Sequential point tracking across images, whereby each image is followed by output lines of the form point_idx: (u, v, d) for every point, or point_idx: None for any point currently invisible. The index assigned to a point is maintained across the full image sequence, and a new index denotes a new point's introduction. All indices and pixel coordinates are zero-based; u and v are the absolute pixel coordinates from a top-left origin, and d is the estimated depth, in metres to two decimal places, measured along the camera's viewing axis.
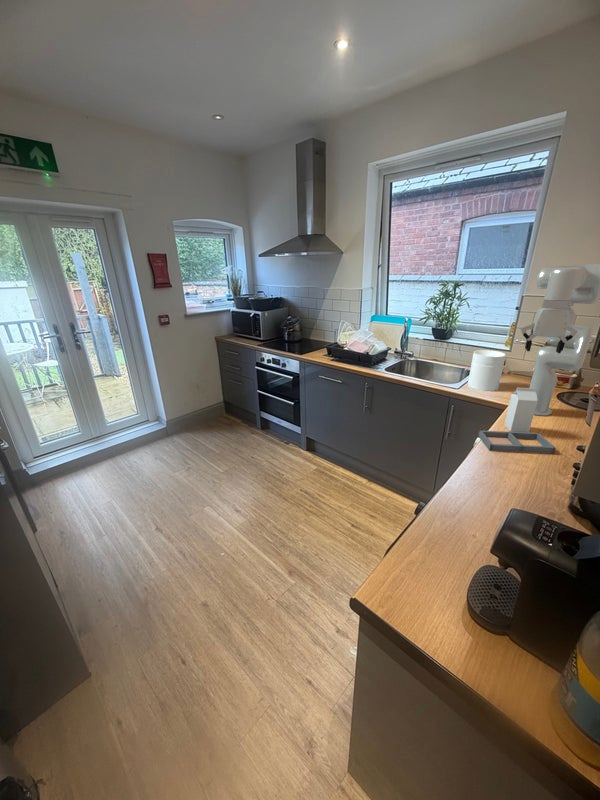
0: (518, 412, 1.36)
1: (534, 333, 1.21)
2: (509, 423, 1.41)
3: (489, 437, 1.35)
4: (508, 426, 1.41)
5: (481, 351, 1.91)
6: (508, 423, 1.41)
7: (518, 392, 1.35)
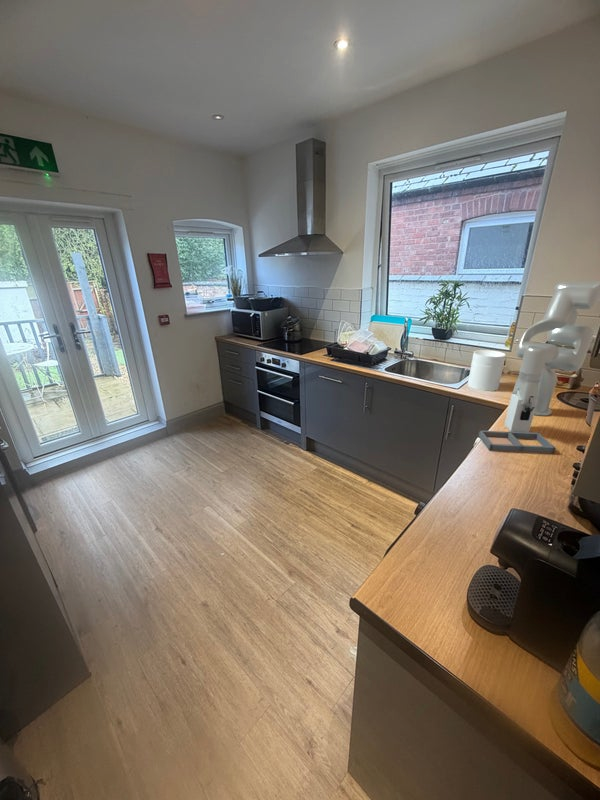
0: (518, 412, 1.36)
1: None
2: (509, 423, 1.41)
3: (489, 437, 1.35)
4: (508, 426, 1.41)
5: (481, 351, 1.91)
6: (508, 423, 1.41)
7: (518, 392, 1.35)
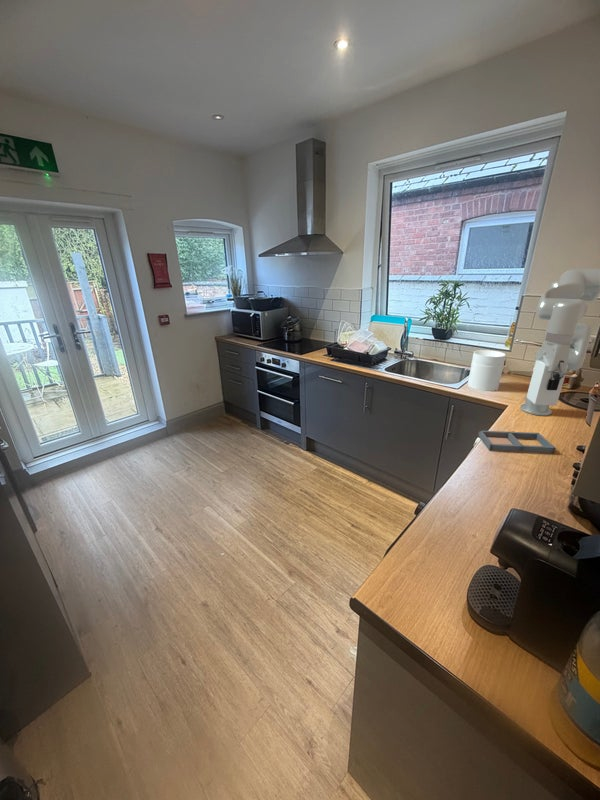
0: (545, 380, 1.16)
1: None
2: (533, 394, 1.21)
3: (489, 437, 1.35)
4: (532, 398, 1.22)
5: (481, 351, 1.91)
6: (532, 395, 1.22)
7: (545, 357, 1.16)
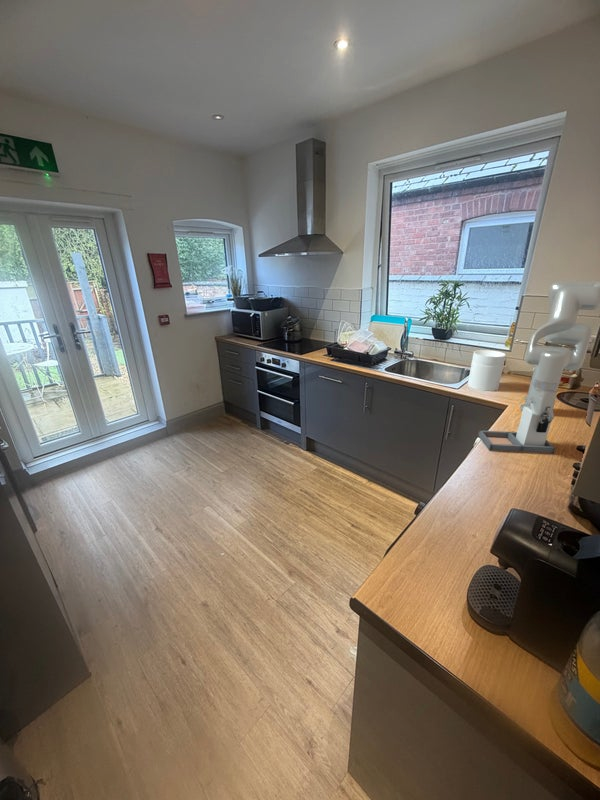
0: (532, 426, 1.23)
1: None
2: (521, 438, 1.28)
3: (489, 437, 1.35)
4: (520, 442, 1.29)
5: (481, 351, 1.91)
6: (520, 439, 1.29)
7: (532, 405, 1.23)
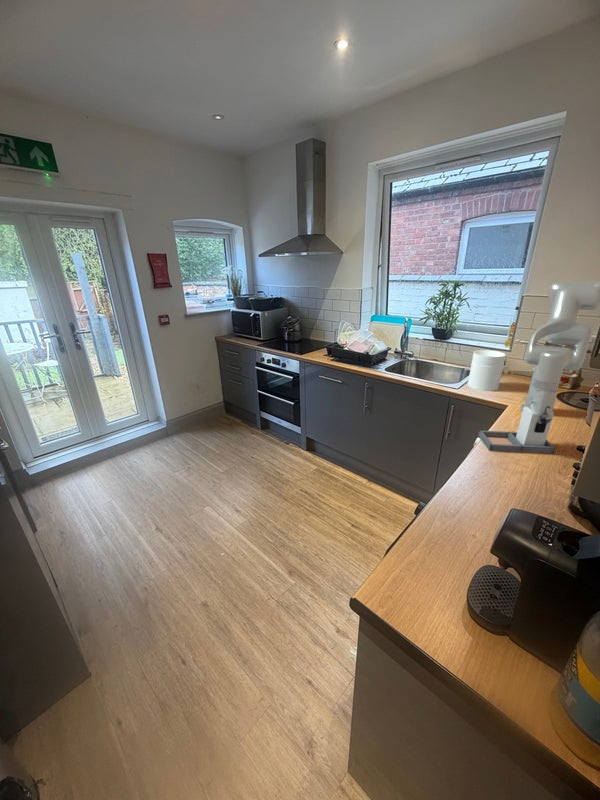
0: (532, 427, 1.23)
1: None
2: (521, 438, 1.28)
3: (489, 437, 1.35)
4: (520, 442, 1.29)
5: (481, 351, 1.91)
6: (520, 439, 1.29)
7: (532, 405, 1.23)
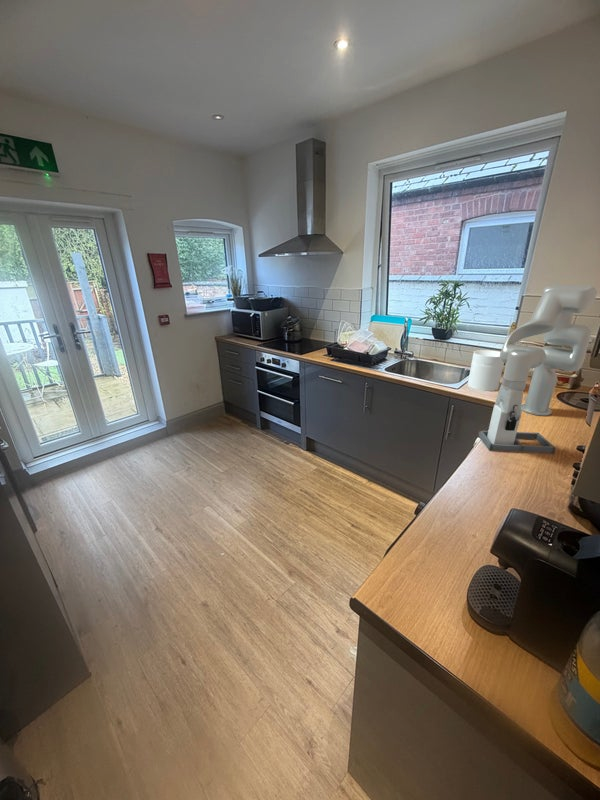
0: (501, 425, 1.24)
1: None
2: (492, 436, 1.30)
3: None
4: (491, 440, 1.30)
5: (481, 351, 1.91)
6: (491, 437, 1.30)
7: (501, 403, 1.24)
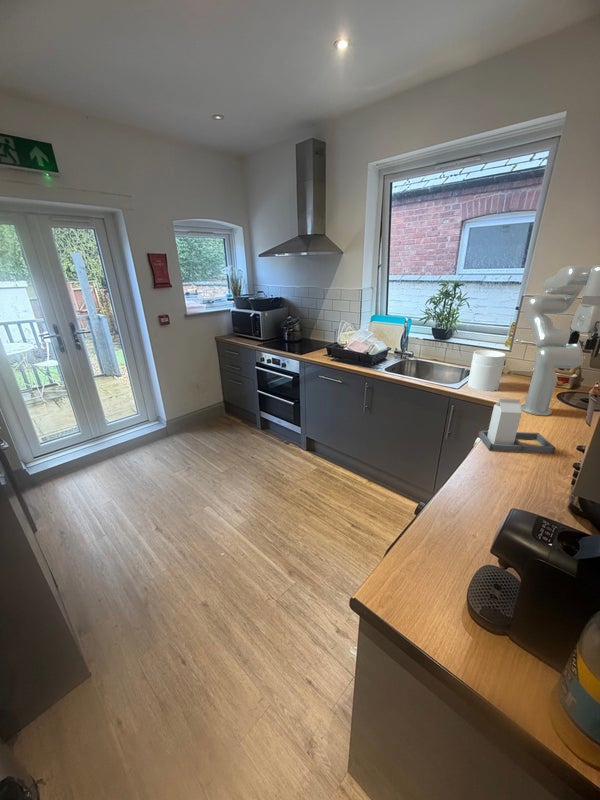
0: (501, 425, 1.24)
1: None
2: (492, 436, 1.30)
3: None
4: (491, 440, 1.30)
5: (481, 351, 1.91)
6: (491, 437, 1.30)
7: (501, 403, 1.24)
